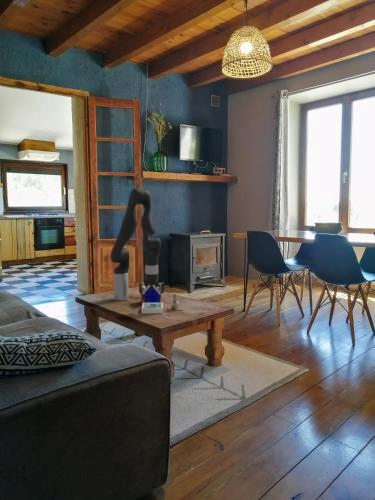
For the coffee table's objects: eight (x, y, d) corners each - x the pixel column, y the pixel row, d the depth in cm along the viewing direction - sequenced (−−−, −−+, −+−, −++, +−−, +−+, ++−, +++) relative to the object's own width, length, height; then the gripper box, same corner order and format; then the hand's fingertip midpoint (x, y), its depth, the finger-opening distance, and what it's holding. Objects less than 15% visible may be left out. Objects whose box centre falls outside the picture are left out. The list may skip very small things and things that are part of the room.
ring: (147, 308, 228) (147, 303, 228) (158, 308, 229) (158, 303, 228) (147, 311, 221) (147, 306, 220) (157, 311, 221) (157, 306, 221)
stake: (168, 310, 225) (168, 295, 224) (168, 307, 233) (168, 292, 232) (182, 310, 226) (182, 295, 224) (181, 306, 233) (181, 292, 232)
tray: (141, 313, 219) (141, 308, 219) (142, 308, 231) (142, 302, 231) (163, 313, 220) (163, 307, 220) (163, 307, 232) (163, 302, 231)
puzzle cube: (144, 305, 238) (144, 289, 237) (140, 301, 247) (140, 286, 246) (160, 303, 241) (160, 287, 240) (155, 300, 251) (155, 284, 250)
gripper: (164, 271, 227) (163, 298, 229) (139, 271, 226) (139, 298, 228) (164, 274, 219) (163, 302, 222) (138, 273, 219) (138, 301, 221)
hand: (151, 300), depth 225 cm, fingers open, 8 cm apart
